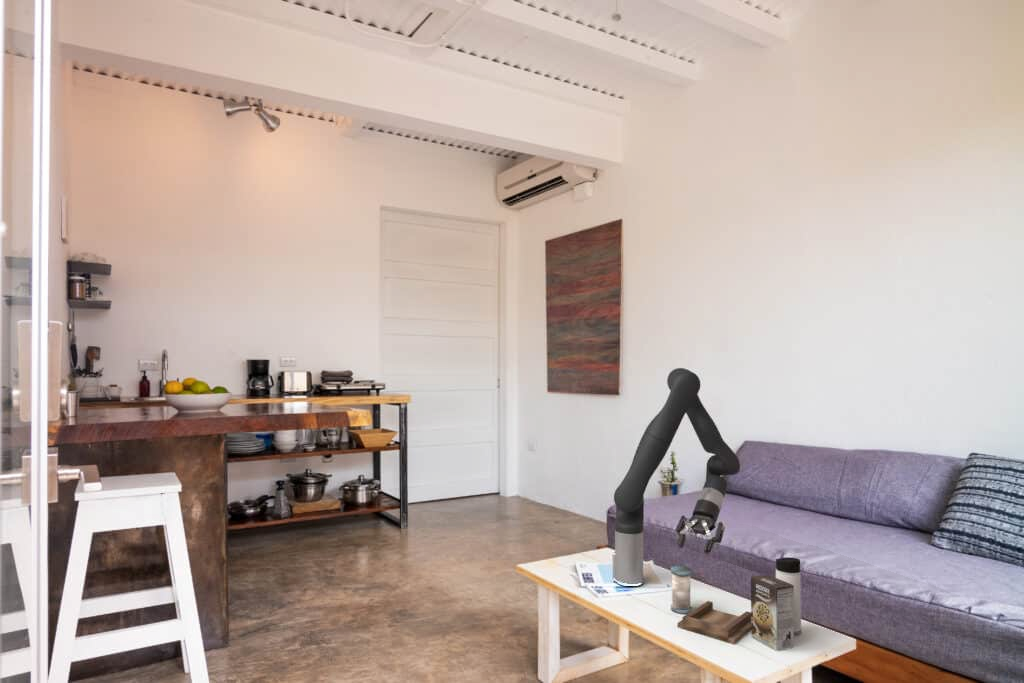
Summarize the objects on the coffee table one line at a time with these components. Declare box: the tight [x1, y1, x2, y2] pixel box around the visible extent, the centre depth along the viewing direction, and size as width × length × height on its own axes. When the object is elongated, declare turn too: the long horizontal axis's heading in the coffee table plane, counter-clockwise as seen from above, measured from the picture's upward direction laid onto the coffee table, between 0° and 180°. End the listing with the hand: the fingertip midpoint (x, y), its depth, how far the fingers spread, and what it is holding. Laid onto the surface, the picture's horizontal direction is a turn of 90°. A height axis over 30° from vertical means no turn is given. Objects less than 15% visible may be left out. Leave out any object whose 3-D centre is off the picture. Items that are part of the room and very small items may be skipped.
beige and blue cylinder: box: [670, 565, 693, 615], centre depth 189 cm, size 6×6×12 cm
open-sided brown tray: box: [677, 600, 751, 645], centre depth 177 cm, size 16×16×3 cm
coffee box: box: [750, 574, 795, 652], centre depth 168 cm, size 9×6×16 cm
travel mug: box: [775, 556, 802, 637], centre depth 175 cm, size 6×7×20 cm
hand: (692, 549), depth 195 cm, fingers open, 8 cm apart
